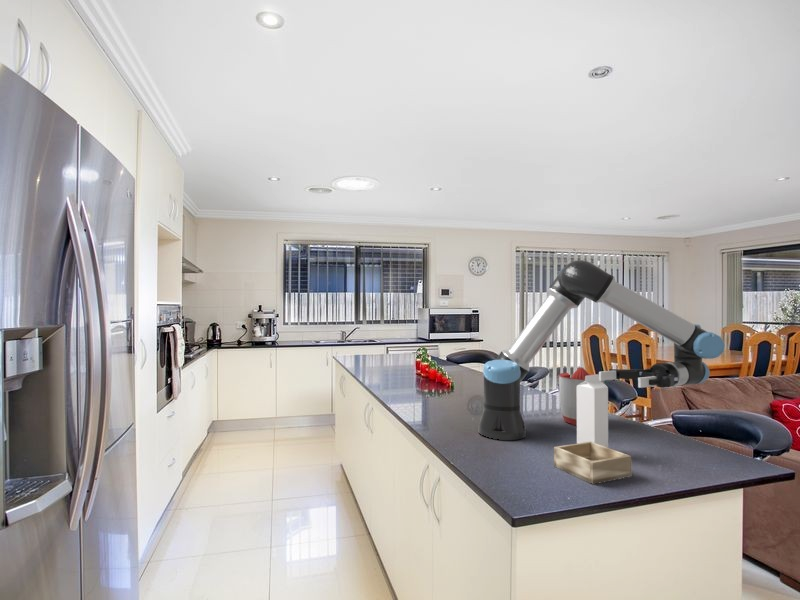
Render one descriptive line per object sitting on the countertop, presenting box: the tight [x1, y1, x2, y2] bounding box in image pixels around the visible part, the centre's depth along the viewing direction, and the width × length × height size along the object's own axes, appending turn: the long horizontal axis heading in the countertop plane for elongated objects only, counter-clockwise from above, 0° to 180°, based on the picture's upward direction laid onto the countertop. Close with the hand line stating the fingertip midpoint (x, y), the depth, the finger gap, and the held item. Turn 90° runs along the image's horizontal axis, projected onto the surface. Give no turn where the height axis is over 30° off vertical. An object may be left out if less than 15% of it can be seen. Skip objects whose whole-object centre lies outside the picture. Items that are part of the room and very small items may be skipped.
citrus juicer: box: [558, 366, 605, 426], centre depth 158 cm, size 16×17×20 cm
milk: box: [576, 373, 609, 448], centre depth 124 cm, size 6×6×22 cm
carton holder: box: [553, 442, 632, 485], centre depth 109 cm, size 13×13×5 cm
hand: (618, 379), depth 128 cm, fingers open, 13 cm apart
